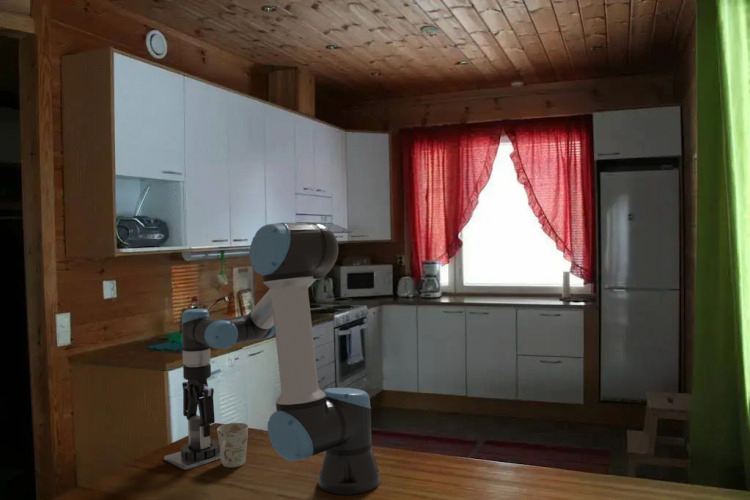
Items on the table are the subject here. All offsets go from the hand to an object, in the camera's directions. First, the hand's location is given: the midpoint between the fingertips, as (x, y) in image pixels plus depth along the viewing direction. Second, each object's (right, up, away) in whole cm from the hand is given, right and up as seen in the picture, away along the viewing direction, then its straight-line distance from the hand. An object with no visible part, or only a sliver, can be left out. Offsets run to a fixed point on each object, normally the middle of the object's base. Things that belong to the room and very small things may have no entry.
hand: (199, 444), depth 174 cm
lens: (0, -2, 0) cm, 2 cm away
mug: (+11, -3, -9) cm, 15 cm away
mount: (0, -3, 0) cm, 3 cm away
